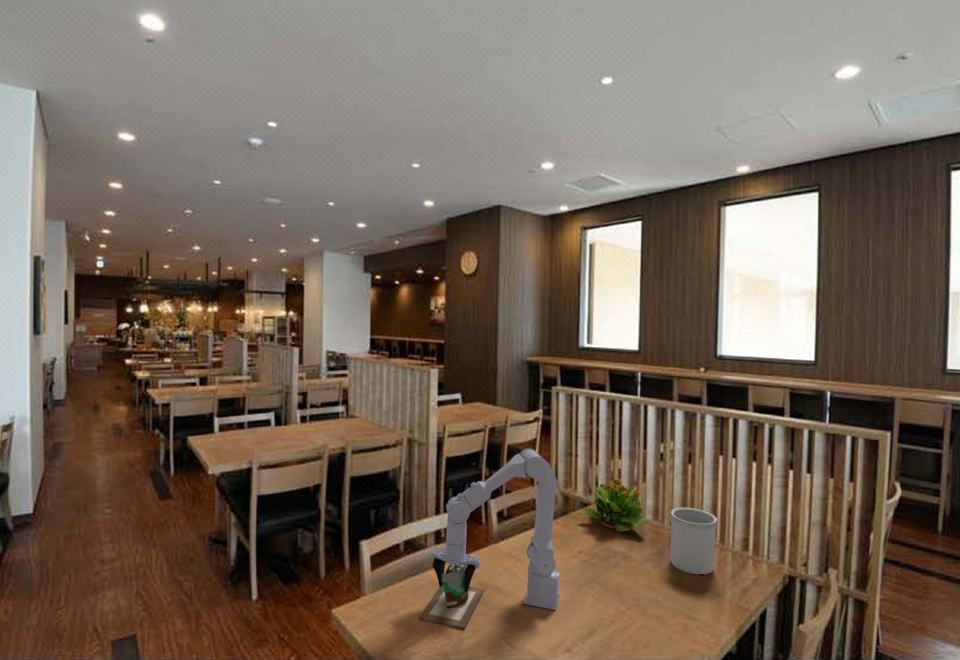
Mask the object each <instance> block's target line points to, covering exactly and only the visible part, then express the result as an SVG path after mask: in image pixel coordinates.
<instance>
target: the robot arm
mask: <svg viewBox="0 0 960 660" xmlns="http://www.w3.org/2000/svg"><path fill="white" fill-rule="evenodd" d="M526 474H527V475H528V476H529V477H530V478H532V479H533V480H535V481H537V482H538V487H537V498H536V509H535V520H534V528H533V529H534V531H533V535H532V536H531V537H530V543H529V544H528V546H527V548H526V555H527V558H528V559H529V563H528V566H527V568H528V569H527V586H526V594H525V596H524V599H523V604H524V605H528V606H531V607H532V606H533V607H539V608H544V609H549V610H554V611H556V610H557V609H558V608H557V607H558V603H559V600H560V594H561V593H560V580H561V579H560V578H561V574H560V572H557V571H555V569H556V566H557V565H556V564H557V563H556V559H555V555H554V551H555V550H554V546H553V541H552V537H553V525H554V524H553V523H554V514H555V505H556V503H555V502H556V494H557V493H556V492H557V483H558V482H557V481H558V480H557V478H556V476H555V473H554V472H553V470H552V468H551V465H550V463H549V462H548V461H546V459H544V458H543V457H542V456H541V455H540V454H539V453H538V452H537V451H536V450H535V449H534V448H533V449H532V448H525V449H523V450H522V451H520V453H517V454H515V455H514V456H513V457H512V458H511V459H510V461H508V462H506V464H505V465H503V466H502V467H501V468H500V469H498V470H497V471H496V472H495V473H494V474H492V475H491V476H490V477H489V478H488V479H486V480H485V481H480V480H478V481H477V482H475V481H473V482H472V483H470V487H468V488H467V489H465V490H464V491H463V492H460V493H458V494H456V496H453V497H451V498H450V499H449V500H448V502H447V503H446V505H445V508H446V512H447V514H448V515H447V519H446V520H447V523H446V533H445V534H446V536H445V550H432V551H431V552H430V555H429V557H430V561H433V563H432V568H433V570H434V571H435V574H436V578H437V581H438V586H439V588H440V587H442V586H443V582H442V574H445V568H446V563H447V564H448V565H455V564H463V565H467V567H466V569H465V592H468V590H469V586H471V582H472V578H473V576H474V573H475V571H476V569H480V567H481V563H482V558H479V557H475V556H473V555H470V554H467V553H466V552H467V550H466V547H467V528H468V527H467V526H468V525H467V520H468V519H469V517H470V514H471V512H473V511H475V510H476V509H478V508H479V507H480V506H482V505H483V504H484V503H485V502H487V501H488V500H489V499H490V498H491V494H492V492H494V491H495V490H496V489H498V488H499V487H501V486H502V485H504V484H506V483H507V482H508V481H510V480H512V479H513V478H515V477H516V478H523V479H525V478H526V477H527V476H526ZM526 479H527V478H526Z"/></svg>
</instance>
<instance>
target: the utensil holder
mask: <svg viewBox="0 0 960 660" xmlns="http://www.w3.org/2000/svg"><path fill="white" fill-rule="evenodd" d="M670 517H671V522H670V525H671V526H670V528H671V529H670V530H671V531H670V532H671V533H670V562H671V564H672V566H674V568H677V569H678V570H680V571H682V572H685V573H688V574H693V575H699V574H704V575H709V574H711V573H713V571H714V566H715V555H716V554H715V553H716V539H717V538H716V537H717V535H716V534H717V525H718V519H717V517H716V516H715V515H714V514H712V513H710V512H708V511H705V510H702V509H698V508H693V507H676V508H673V509H672V510H671V512H670Z"/></svg>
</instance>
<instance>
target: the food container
mask: <svg viewBox="0 0 960 660" xmlns="http://www.w3.org/2000/svg"><path fill="white" fill-rule="evenodd" d="M466 567H467V565H463V564H455V565H450V564H448V566H447V567H446V568H447V569H446V571H445V572H444V574H442V582H443V585H444V591H445V598H446V605H447V608H453V607H457V606H460V605H462V604H464V603H465V602H466V601H467V600H468V592H465V569H466Z"/></svg>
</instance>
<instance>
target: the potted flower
mask: <svg viewBox="0 0 960 660" xmlns="http://www.w3.org/2000/svg"><path fill="white" fill-rule="evenodd" d="M597 488H598V489H597V491H595V496H594V497H593V500H594V501H593V502H594V505H595V506H596V508H595V507H594V509H593V508H591V507H589V508H585V507H584V508H583V509H581V510H580V512H581V513H583V514H585V515H588V516H590V517H592V518H595V519H597V520H600V523H601V525H603V526H605V527H606V528H609V529H614V530H615V529H616V531H617V532H619V533H622V532H626V531H631V530H632V527H631V526H633V527H634V528H635V529H638V528H639V527H641V526H642V525H644V524H646V523H647V520H646V519H645V518H644V516H645V515H642V513H643V511H644V510H643V509H642V508H641V506H642V503H641V501H638V500H639V495H640V494H641V492H642V491H641V490H638V489H633V488H631V487H629V488H627V487H626V486H625V485H624V484H622V481H621V480H619V479H617V478H613V480H612V483H606V484H603V483H601V484H600V485H599V486H597ZM629 524H630V525H629Z"/></svg>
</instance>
